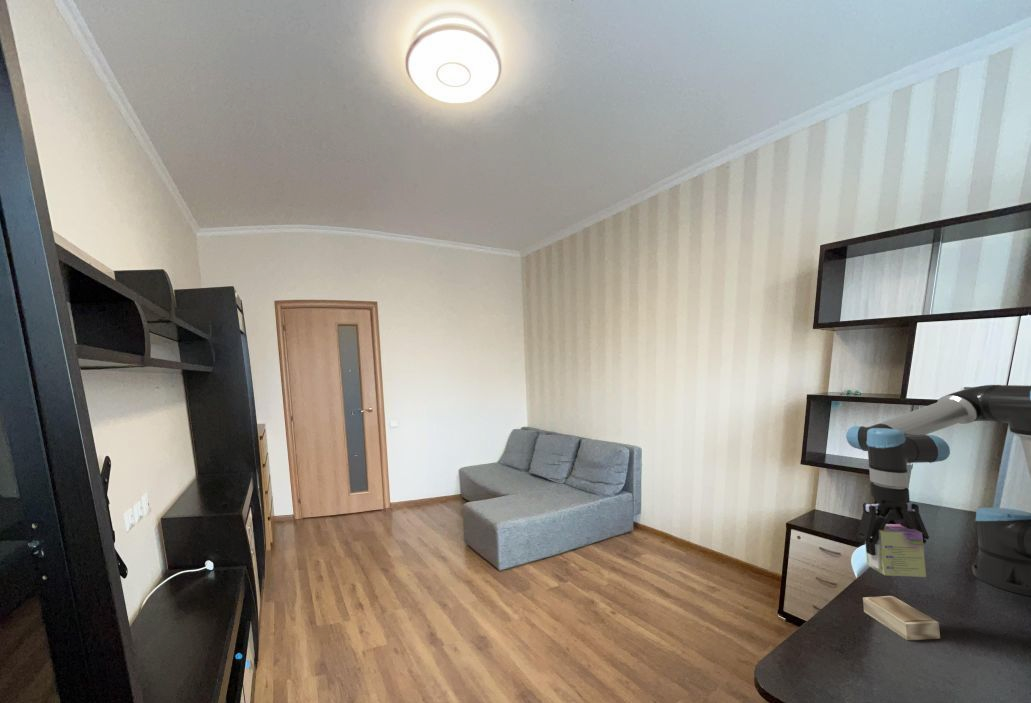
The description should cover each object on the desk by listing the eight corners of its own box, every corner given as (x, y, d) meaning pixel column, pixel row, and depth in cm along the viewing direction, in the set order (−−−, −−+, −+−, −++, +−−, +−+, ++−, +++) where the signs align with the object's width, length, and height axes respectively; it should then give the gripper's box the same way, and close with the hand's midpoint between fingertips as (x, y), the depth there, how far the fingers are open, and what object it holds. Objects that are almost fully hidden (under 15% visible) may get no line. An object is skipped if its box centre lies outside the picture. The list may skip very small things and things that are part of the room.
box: (905, 566, 101) (902, 523, 101) (927, 577, 95) (923, 532, 96) (865, 564, 102) (862, 522, 103) (884, 576, 96) (881, 531, 97)
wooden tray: (893, 610, 103) (892, 594, 104) (940, 638, 92) (938, 621, 93) (863, 611, 103) (862, 596, 103) (907, 640, 92) (905, 623, 92)
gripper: (912, 479, 104) (919, 556, 103) (836, 482, 103) (841, 560, 102) (944, 487, 97) (951, 571, 95) (862, 490, 96) (868, 575, 94)
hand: (895, 565), depth 99 cm, fingers closed on box, 11 cm apart
